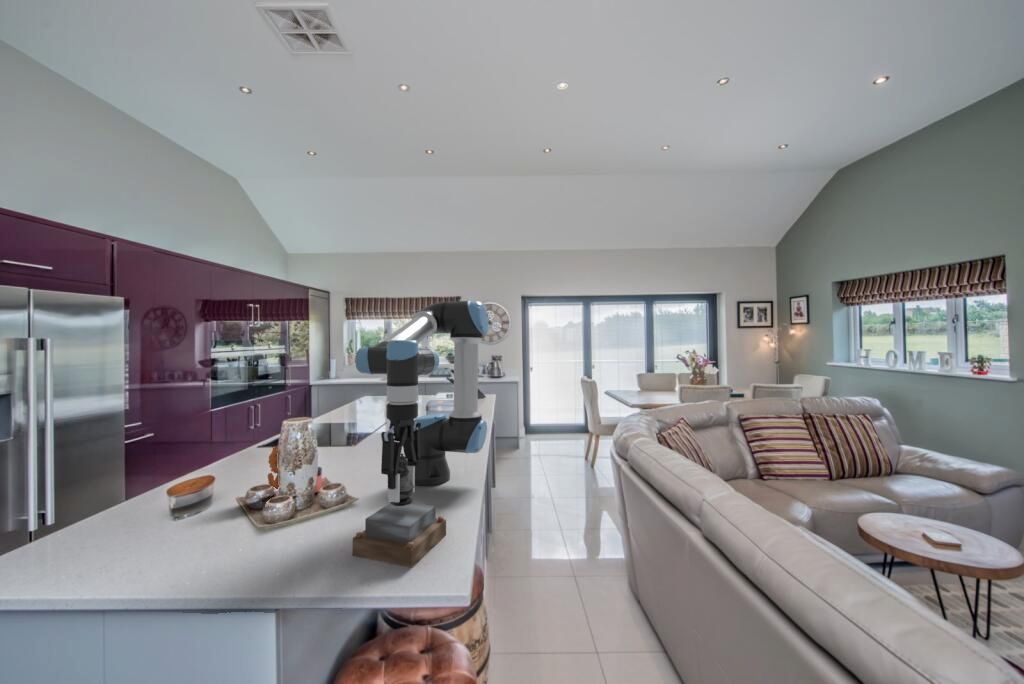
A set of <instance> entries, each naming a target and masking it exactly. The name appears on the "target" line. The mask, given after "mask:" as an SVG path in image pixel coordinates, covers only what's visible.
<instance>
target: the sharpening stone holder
mask: <svg viewBox="0 0 1024 684" xmlns="http://www.w3.org/2000/svg"><path fill="white" fill-rule="evenodd" d="M436 511H437V510H436V505H431V504H424V503H417V502H412V503H411V504H408V505H405V506H394V505H392V504H391V502H390V503H388V504H386V505H385V506H383V507H382V508H380V509H379V510H378V511H376V512H373V514H371V515H369V516H367V517H366V518H365V520H364V521H365V527H364V528H365V529H364V530H363V531H359V532H356V533H355V536H354V537H352V553H351V554H352V556H353V557H359V558H364V559H367V560H368V559H369V560H373V561H378V562H382V563H387V564H390V565H391V564H392V565H396V566H402V567H406V568H411V569H412V568H413V567H414V566H416V565H417V563H419V562H420V561H421V560H422V559H423V558H424V557H425V556H426V555H427V554H428V553H429V552H430V551H431V550H432V549H433V548H434V547H436V545H438V544H439V542H441V541H442V539H444V538H445V537H446V536H447V519H446V518H445V517H444V516H442V515H441V516H438V517H436Z"/></svg>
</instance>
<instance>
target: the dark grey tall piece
mask: <svg viewBox="0 0 1024 684" xmlns="http://www.w3.org/2000/svg"><path fill="white" fill-rule="evenodd" d="M408 473H409V470H408V459H407V458H406V457H405V455H404V454H403V453H401V456H400V461H399V467H398V473H397V474H400V501H399V502H398V503H397V502H391V501H390V503H391V504H392V505H394V506H405V505H408V504H411V503H414V500H413V498H412V497H411V495H412V494H413V493H412V491H413V488H414V485H413V484H410V483H409V481H408Z"/></svg>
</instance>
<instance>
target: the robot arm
mask: <svg viewBox="0 0 1024 684" xmlns="http://www.w3.org/2000/svg"><path fill="white" fill-rule="evenodd" d="M488 329H489V318H488V314H487V310H486V307H485V305H484V304H483V303H482V302H481V301H476V300H475V301H474V300H459V301H457V300H456V301H439V302H436V303H435V302H434V303H433V304H430V305H428V306H426V307H423V308H422V309H420V310H418V311H417V312H415V313H414V314H413V315H412V317H411V319H410V321H408V322H407V323H405V324H404V325H402V326H401V327H400V328H398V329H397V330H396V331H394V332H393V333H392V334H390V335H389V336H387V337H386V338H384V339H383V340H381V342H379V343H378V344H376V345H374V346H363V347H360V348H359V349H357V351H356V353H355V356H354V363H355V368H356V370H357V371H358V372H359V373H361V374H365V375H367V374H369V375H386V402H387V404H386V412H385V413H386V419H387V420H389V422H390V423H389V427H388V430H387V431H382V432H381V433H380V437H381V442H382V443H381V468H380V469H381V472H380V474H381V475H386V476H387V488H388V489H387V501H388V502H390V503H391V502H397V503H398V502H399V501H400V474H397V473H398V467H399V461H400V456H401V454H402V448H403V453H404V454H403V455H404V457H406V458H407V459H408V470H409V473H408V481H409V483H410V484H413V485H414V488H413V491H412V494H414V493H415V492H416V487H415V486H428V487H429V486H436V485H440V484H443V483H446V482H448V481H450V479H451V470H450V467H449V463H448V460H447V458H446V452H449V453H451V452H452V453H461V454H463V453H464V454H477V453H479V452H481V450H482V449H483V447H484V444H485V442H486V439H487V433H488V423H487V421H486V420H484V419H482V413H481V412H480V411H479V410H478V409H479V407H478V405H479V404H478V401H479V399H478V398H479V394H478V393H479V392H478V391H479V389H478V388H479V344H480V343H481V342H482V340H483V335H485V334H487V332H488ZM435 334H436V335H437V334H449V338H450V340H451V341H452V342H453V345H454V350H453V351H454V352H453V353H454V354H453V356H454V357H453V363H454V364H453V410H452V411H451V412H450V413H449V415H448V416H449V417H448V418H447V416H446V413H431V414H424V415H421V416H419V417H418V415H419V403H418V402H417V401H419V376H427V375H430V374H432V373H434V372H435V371H436V370H437V369H438V367H439V366H440V357H439V354H438V352H437V351H436V350H435V349H434V348H431V347H427V346H422V347H419V344H420V343H421V342H423V340H425V339H426V338H430V337H432V336H433V335H435Z"/></svg>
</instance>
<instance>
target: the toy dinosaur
mask: <svg viewBox="0 0 1024 684" xmlns="http://www.w3.org/2000/svg"><path fill="white" fill-rule="evenodd" d="M278 445H279V444H277V445H276V446H274V447H272V451H271V453H270V454H269V456H268V461H267V462H268V464H269V466H268V467H269V468H270V469H271V470H270V471H271V472H268V474H267V481H268V484H269V487H270V486H273V487H275V488H276V489H278V487H279V485H278V468H277V453H278ZM273 473H274V474H276V477H275V478H274V475H273Z"/></svg>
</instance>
